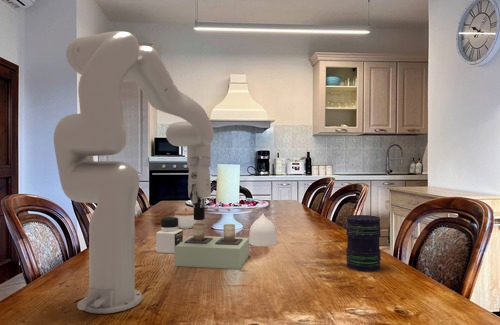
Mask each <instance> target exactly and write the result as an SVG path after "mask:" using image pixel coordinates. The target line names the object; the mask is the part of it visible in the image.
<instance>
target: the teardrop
mask: <svg viewBox="0 0 500 325" xmlns="http://www.w3.org/2000/svg"><path fill="white" fill-rule="evenodd" d="M277 234H278V233H277V230H276V227H275V225H274V223H273V222H272V221H271V220H270V219H269V218H268V217H266V216H265V214H264V212H262V214H261V215H260V216H259V217H258V218H257V219H256V220H254V222H252V225H251V226H250V228H249V235H248V238H249V245H251V246H255V247H270V246H276V245H277V244H278V241H277V240H278V236H277Z"/></svg>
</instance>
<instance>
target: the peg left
mask: <svg viewBox="0 0 500 325" xmlns="http://www.w3.org/2000/svg"><path fill="white" fill-rule="evenodd" d="M205 225H206V224H205V223H202V222H198V223H197V222H196V223H195V224H193V227H192V228H193V229H192V231H193V235H192V236H193V241H203V242H204V241H205V236H206V235H205V234H206V233H205V231H206V230H205V227H206V226H205Z"/></svg>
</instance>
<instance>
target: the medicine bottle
mask: <svg viewBox="0 0 500 325" xmlns="http://www.w3.org/2000/svg"><path fill="white" fill-rule="evenodd" d="M160 229H161V230H159V231H157V232H156V233H155V234H156V235H155V238H156V240H155V243H156V244H155V245H156V246H155V247H156V248H155V252H156V253H157V254H175V246H176V245H178V244H180V243H181V242H183V241H184V238H183V236H184V235H183V234H184V233H183V232H184V231H183V229H181V228H179V226H178V218H177V217H175V216H164V217H161V219H160Z"/></svg>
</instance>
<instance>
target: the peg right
mask: <svg viewBox="0 0 500 325" xmlns="http://www.w3.org/2000/svg"><path fill="white" fill-rule="evenodd" d="M223 237H224V242H231V243H235V237H236V224H233V223H226V224H223Z"/></svg>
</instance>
